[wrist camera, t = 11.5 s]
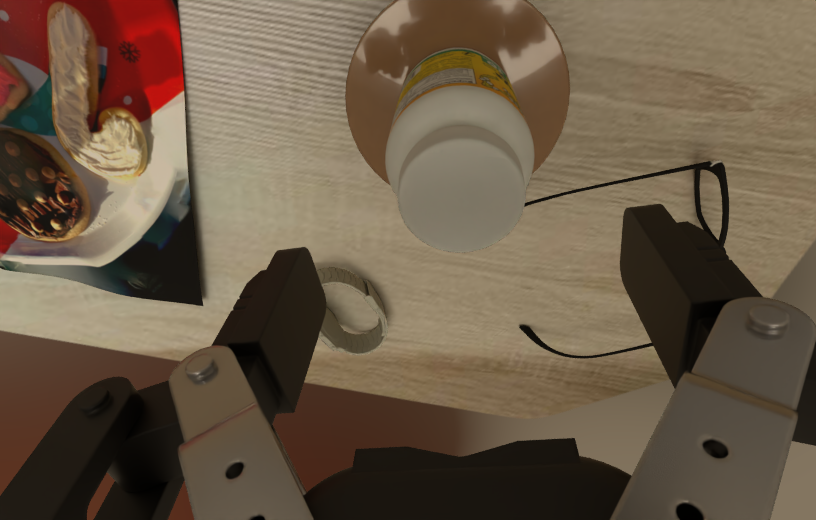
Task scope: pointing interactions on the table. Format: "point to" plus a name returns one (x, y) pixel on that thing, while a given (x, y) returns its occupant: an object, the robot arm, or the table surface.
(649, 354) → the table surface
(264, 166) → the table surface
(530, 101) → the jar
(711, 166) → the eyeglasses
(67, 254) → the cookie print placemat
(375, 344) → the tan oval ring
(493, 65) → the supplement bottle
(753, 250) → the table surface
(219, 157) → the table surface
